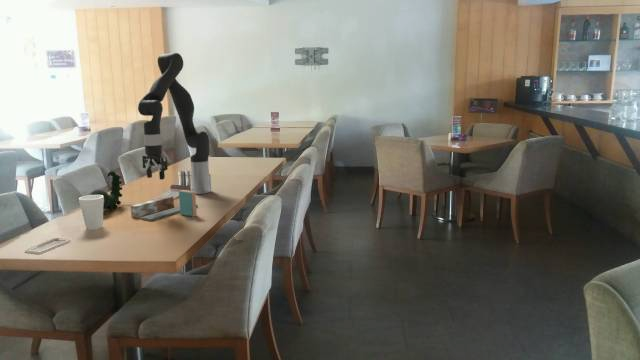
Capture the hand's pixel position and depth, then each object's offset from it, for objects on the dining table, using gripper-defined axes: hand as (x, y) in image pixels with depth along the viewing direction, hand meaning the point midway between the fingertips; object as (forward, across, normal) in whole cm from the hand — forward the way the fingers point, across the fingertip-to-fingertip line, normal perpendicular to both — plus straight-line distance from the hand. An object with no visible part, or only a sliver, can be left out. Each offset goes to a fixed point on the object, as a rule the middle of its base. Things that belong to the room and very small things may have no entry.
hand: (155, 178), depth 238 cm
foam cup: (+15, +1, +33) cm, 36 cm away
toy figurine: (+15, +21, +13) cm, 29 cm away
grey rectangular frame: (+16, -6, +57) cm, 59 cm away
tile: (+15, -19, -1) cm, 24 cm away
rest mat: (+15, -10, +1) cm, 18 cm away
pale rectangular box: (+15, 0, +3) cm, 15 cm away
